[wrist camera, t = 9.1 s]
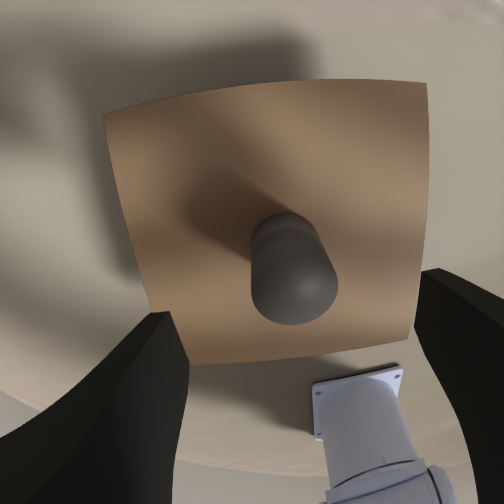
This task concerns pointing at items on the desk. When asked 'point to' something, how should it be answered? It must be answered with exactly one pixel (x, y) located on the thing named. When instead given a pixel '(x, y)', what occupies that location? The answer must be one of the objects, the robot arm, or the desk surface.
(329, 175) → the walnut lid
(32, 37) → the desk surface
